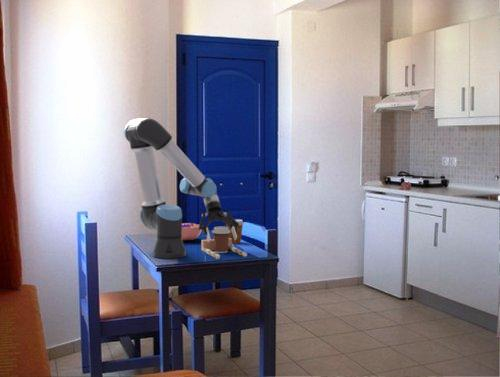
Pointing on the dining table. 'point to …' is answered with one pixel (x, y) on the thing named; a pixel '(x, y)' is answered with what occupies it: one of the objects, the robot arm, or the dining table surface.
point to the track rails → (219, 255)
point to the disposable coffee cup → (239, 232)
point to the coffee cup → (221, 239)
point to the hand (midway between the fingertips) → (222, 239)
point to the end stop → (212, 244)
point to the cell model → (190, 231)
